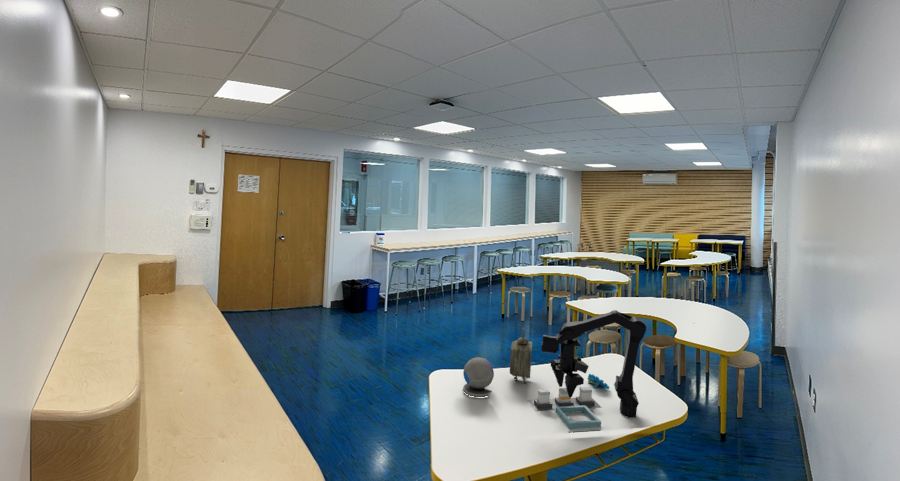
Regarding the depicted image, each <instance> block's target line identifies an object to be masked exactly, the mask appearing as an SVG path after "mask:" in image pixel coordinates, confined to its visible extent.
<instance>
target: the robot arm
mask: <svg viewBox="0 0 900 481" xmlns="http://www.w3.org/2000/svg"><path fill="white" fill-rule="evenodd" d="M612 324H616V325H618V326H620V327H622V328H624V329H625V330H627V339H628V340H627V345H626V349H625V350H626V351H625V355H624V361H623V366H622V370H621V373H620V375H615V382H614V383H613V386H614V389H615V392H616V395H617V397H618V399H620V402H619V413H620V415H622V416H624V417H627V418H629V419H630V418H637V411H638V406H639V403H640V402H639V400H638V397H637V394H636V392H635V391H634V382H633V381H634V378H633V377H634V372H635V368H636V362H637V359H638V358H637V357H638V352H639V347H640V344H641V342H642V340H643V339H644V336H645V334H646V332H647V326H646V324H645V322H644V320H643V319H642V318H641V317H639V316H631V315H629V314H626V313H622V312H621V311H618V310H616V309H613V310H611V311H609V312H607V313H603V314H600V315H596V316H593V317H590V318H588V319H584V320H580V321H578V320H577V321H576V320H575V321H567V322H565V323H563V325H562V326H561V330H560V331H559V332H558V333H557V334H556V336H552V335H547V334H543V335H542V343H541V353H547V354H548V353H549V354H557V353H558V352H560V353H559V354H558V356H557V358H558V359H552V360H551V361H550V367H551V370H552V372H553V374H554V377H555V378H556V382H557V384H558V387H560V388H563V384H565V388H566V389H567V393H568V396H569V397H571V398H573V395H574V393H575V391H576V388H577V387H578V386H581V385H584V383H585V378H583V377H582V375H580V374H579V373H578V371H579V372H581V373H583V374H587V372H588V370H589V368H590V366H589V365H588V364H587V363H585V362H584V361H583V360H582V358H581V357H580V356H576V347H581V345H582V344H581V341H580V340H578V338H579V337H581V336H582V335H584V334H585V333H587V332H589V331H593V330H597V329H599V328H603V327H605V326H609V325H612ZM559 350H560V351H559Z"/></svg>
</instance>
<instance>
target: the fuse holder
mask: <svg viewBox="0 0 900 481" xmlns="http://www.w3.org/2000/svg"><path fill="white" fill-rule="evenodd" d="M558 398H559V397H554V398H550V399H549V403H543V404H539V403H538V401H537V399H538V398H534V399H527V401H528V404H530V407H532V409H533V410H534V412H545V411H547V412H548V411H556V407H563V406H581V405H586V406H587V407H588V408H589V409H601V408H603V407H602V406H601V405H600V404H599V403H598V402H597V401H596V400H595V399H594V398H593V397H591V401H581V400H580V399H579V396H575V397H571V401H570V402H562V403H561V402H560V401H559V400H558Z"/></svg>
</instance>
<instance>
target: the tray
mask: <svg viewBox="0 0 900 481" xmlns="http://www.w3.org/2000/svg"><path fill="white" fill-rule="evenodd" d="M554 411H555V413H556V414H557V416H558V418H560V420H561V421H562V422H563V423H564V425H565V426H566V427H567V428H568V429H570V430H574V429H576V430H577V429H590V430H577V431H574V433H585V432H588V433H589V432H600V431H601V429H594V430H591V429H592V428H602V421H601V420H600V419H599V418H598V417H597V416H596V415H595V414H594V413H593V412H592V410H591V408H588V407H587V406H586V405H581V406H563V407H556V410H554ZM570 413H584V414H585V415H586V416H587V418H589V419H590V420H579V421H571V420H570V419H569V417H568V416H567V415H566V414H570ZM570 432H571V431H568V433H569V434H570Z"/></svg>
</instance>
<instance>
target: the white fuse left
mask: <svg viewBox="0 0 900 481" xmlns="http://www.w3.org/2000/svg"><path fill="white" fill-rule="evenodd" d="M550 396H551V391H550V390H549V388H539V389H537V398H536V399H537V401H538V403H539V404H543V403H549V399H551V398H550Z"/></svg>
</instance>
